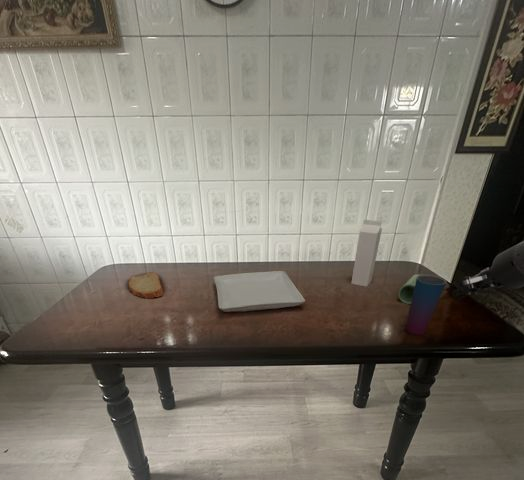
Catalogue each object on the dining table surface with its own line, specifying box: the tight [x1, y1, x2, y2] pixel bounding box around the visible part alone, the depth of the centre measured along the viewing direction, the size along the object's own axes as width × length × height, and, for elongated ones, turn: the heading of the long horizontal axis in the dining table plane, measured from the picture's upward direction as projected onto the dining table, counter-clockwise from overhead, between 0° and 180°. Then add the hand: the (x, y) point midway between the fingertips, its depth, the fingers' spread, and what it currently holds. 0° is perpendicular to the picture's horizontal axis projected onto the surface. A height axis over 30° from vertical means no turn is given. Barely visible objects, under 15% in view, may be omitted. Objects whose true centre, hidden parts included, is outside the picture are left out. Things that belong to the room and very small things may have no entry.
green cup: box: [397, 273, 422, 305], centre depth 100 cm, size 7×7×11 cm
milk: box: [350, 219, 383, 288], centre depth 107 cm, size 6×6×22 cm
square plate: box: [213, 270, 306, 313], centre depth 103 cm, size 27×27×4 cm
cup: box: [405, 274, 447, 336], centre depth 80 cm, size 7×7×15 cm
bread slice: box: [127, 271, 164, 299], centre depth 111 cm, size 18×18×4 cm
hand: (455, 295), depth 70 cm, fingers closed
